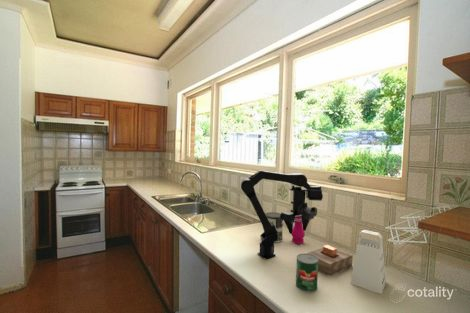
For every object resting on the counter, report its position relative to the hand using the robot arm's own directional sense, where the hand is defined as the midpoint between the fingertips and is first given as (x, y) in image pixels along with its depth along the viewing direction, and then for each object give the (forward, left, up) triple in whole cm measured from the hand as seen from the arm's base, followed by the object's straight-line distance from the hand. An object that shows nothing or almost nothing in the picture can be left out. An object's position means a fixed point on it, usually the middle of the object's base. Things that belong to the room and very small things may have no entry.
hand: (297, 232), depth 117 cm
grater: (+7, -31, -12) cm, 34 cm away
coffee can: (+5, +22, -12) cm, 26 cm away
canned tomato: (-16, -20, -12) cm, 28 cm away
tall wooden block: (+6, -14, -11) cm, 18 cm away
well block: (+6, -14, -12) cm, 19 cm away
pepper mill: (+14, +12, -12) cm, 22 cm away
